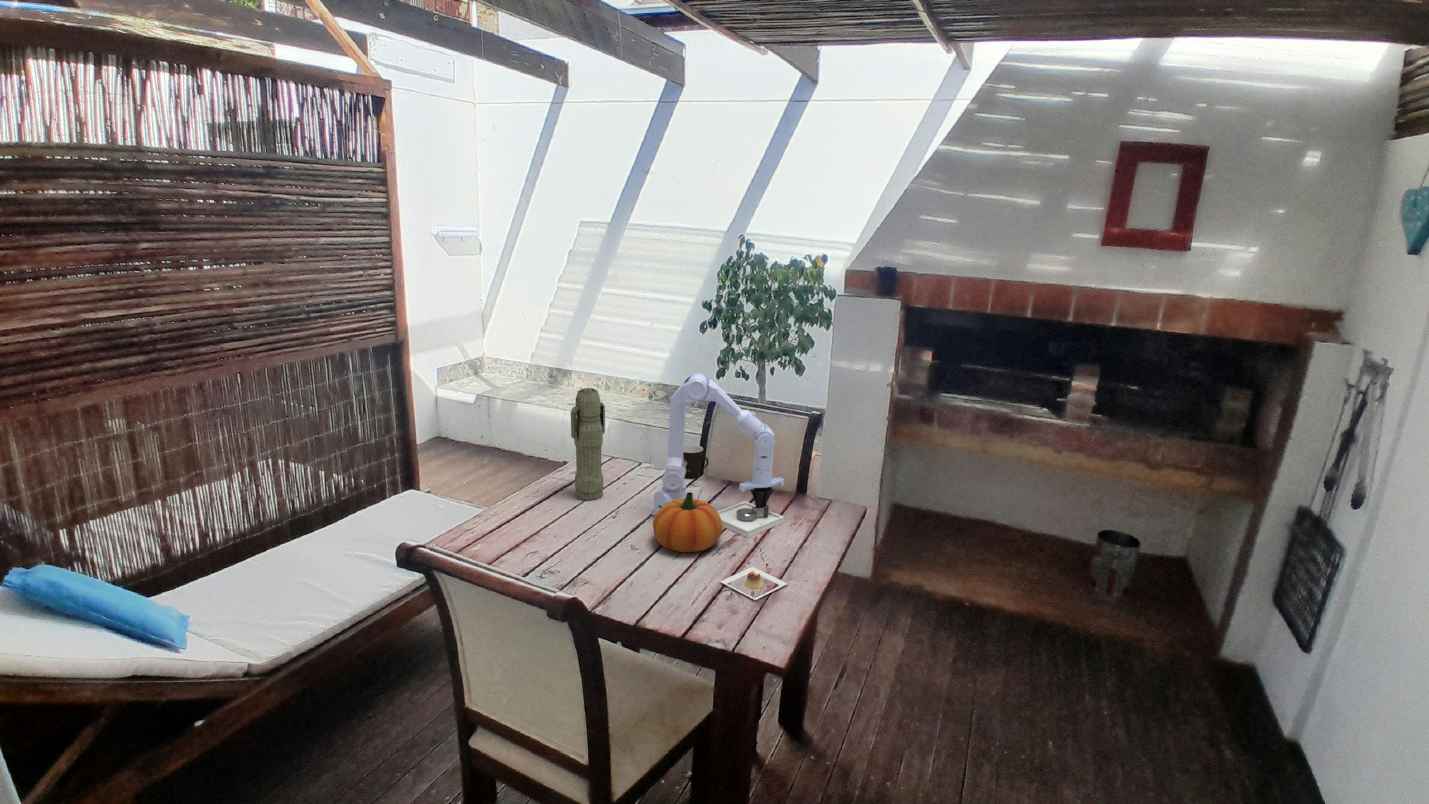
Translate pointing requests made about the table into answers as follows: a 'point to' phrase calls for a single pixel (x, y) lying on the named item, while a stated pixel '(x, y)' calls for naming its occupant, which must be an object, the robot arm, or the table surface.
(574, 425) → the green carved statue
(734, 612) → the table surface
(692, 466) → the coffee mug
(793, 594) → the table surface
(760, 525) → the board
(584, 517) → the table surface
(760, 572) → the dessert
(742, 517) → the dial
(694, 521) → the pumpkin
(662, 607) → the table surface
